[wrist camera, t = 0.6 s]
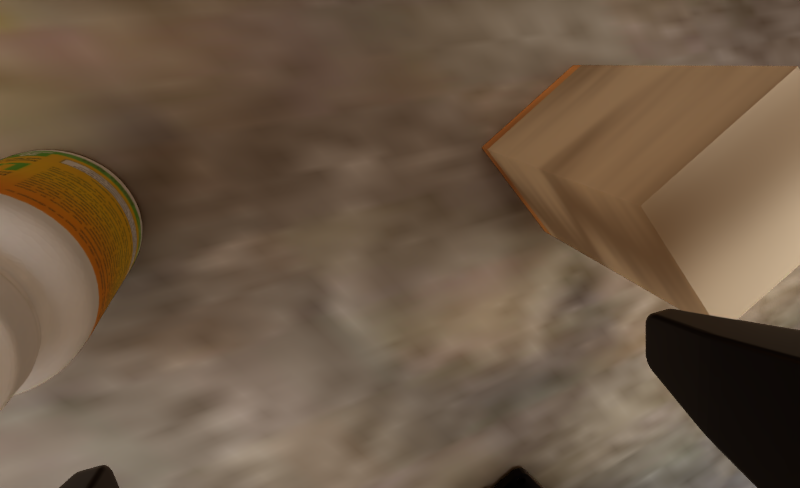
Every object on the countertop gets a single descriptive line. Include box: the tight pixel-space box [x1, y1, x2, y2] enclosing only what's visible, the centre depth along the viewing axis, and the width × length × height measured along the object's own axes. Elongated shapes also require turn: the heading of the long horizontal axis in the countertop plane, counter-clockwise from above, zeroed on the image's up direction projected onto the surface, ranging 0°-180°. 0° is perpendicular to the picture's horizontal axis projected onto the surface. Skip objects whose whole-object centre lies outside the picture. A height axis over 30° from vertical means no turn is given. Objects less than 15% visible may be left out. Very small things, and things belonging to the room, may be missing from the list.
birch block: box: [482, 65, 800, 320], centre depth 19 cm, size 5×5×10 cm
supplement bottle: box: [0, 150, 142, 411], centre depth 15 cm, size 5×5×10 cm
